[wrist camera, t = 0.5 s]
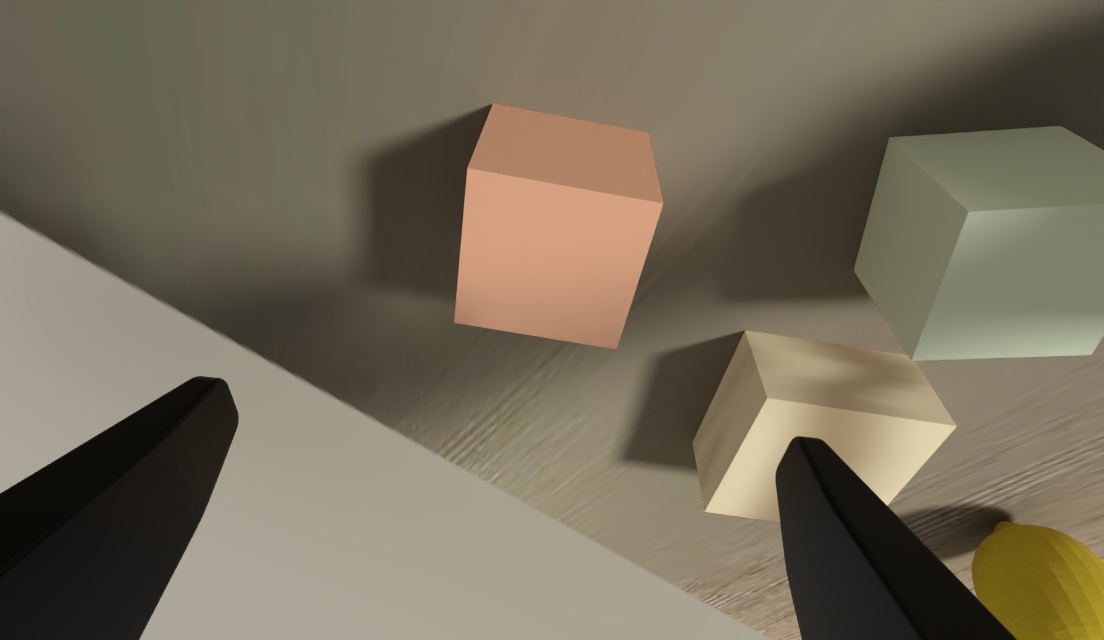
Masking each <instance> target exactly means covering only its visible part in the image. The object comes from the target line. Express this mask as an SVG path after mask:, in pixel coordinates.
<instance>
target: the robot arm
mask: <svg viewBox="0 0 1104 640" xmlns="http://www.w3.org/2000/svg"><path fill="white" fill-rule="evenodd" d="M237 426H238V411H237V409H236V406H235V404H234V400H233V398H232V395H231V392H230V390H229V387H228V384H227V383H226V382H225V381H224V380H223V379H220V378H213V377H203V376H198V377H194V378H192V379H190V380H188V381H186V382H185V383H183V384H182V385H180V386H178V387H177V388H175V389H173V390H172V391H170V392H168V393H167V394H165V395H163V396H162V397H160V398H158V399H157V400H155V401H153V402H152V403H150V404H148V405H147V406H145V407H143V408H142V409H140V410H139V411H137V412H135V413H133V414H132V415H130V416H128V417H127V418H125V419H123V420H122V421H120V422H118V423H117V424H115V425H114V426H112V427H110V428H108V429H107V430H105V431H103V432H102V433H100V434H98V435H97V436H95V437H93V438H92V439H90V440H89V441H87V442H85V443H83V444H82V445H80V446H79V447H77V448H75V449H73V450H72V451H70V452H68V453H67V454H65V455H64V456H62V457H60V458H59V459H57V460H55V461H54V462H52V463H51V464H49V465H47V466H46V467H44V468H42V469H40V470H39V471H37V472H35V473H34V474H32V475H30V476H29V477H27V478H25V479H24V480H22V481H20V482H19V483H17V484H16V485H14V486H12V487H10V488H9V489H7V490H5V491H4V492H2V493H0V640H139V639H140V637H141V635H142V633H143V631H144V629H145V627H146V625H147V624H148V622H149V620H150V618H151V616H152V614H153V612H154V610H155V608H156V606H157V604H158V602H159V600H160V598H161V597H162V595H163V593H164V591H165V589H166V587H167V585H168V583H169V581H170V579H171V577H172V575H173V573H174V571H175V569H176V568H177V565H178V564H179V562H180V560H181V558H182V556H183V554H184V552H185V550H186V548H187V546H188V544H189V542H190V540H191V538H192V537H193V534H194V533H195V531H196V529H197V527H198V524H199V522H200V521H201V518H202V516H203V514H204V512H205V509H206V507H207V505H208V502H209V500H210V497H211V495H212V492H213V489H214V487H215V484H216V482H217V479H218V476H219V474H220V471H221V469H222V466H223V463H224V461H225V458H226V456H227V453H228V450H229V448H230V445H231V443H232V440H233V437H234V435H235V432H236V429H237ZM775 482H776V491H777V499H778V507H779V516H780V524H781V532H782V541H783V549H784V558H785V564H786V571H787V576H788V581H789V586H790V590H791V595H792V599H793V603H794V607H795V612H796V616H797V620H798V624H799V629H800V633H801V637H802V640H1017V639H1016V638H1015V637H1014V636H1013V635H1012V634H1011V633H1010V632H1009V631H1008V629H1007V628H1006V627H1005V626H1004V625H1003V624H1002V623H1001V622H1000V621H999V620H998V619H997V618H996V617H995V616H994V615H993V614H992V613H991V612H990V611H989V610H988V609H987V608H986V607H985V606H984V605H983V604H982V603H981V602H980V601H979V600H978V599H977V598H976V597H975V596H974V595H973V593H972V592H971V591H970V590H969V589H968V588H967V587H966V586H965V585H964V584H963V583H962V582H961V581H960V580H959V579H958V578H957V577H956V576H955V575H954V574H953V573H952V572H951V571H950V570H949V569H948V568H947V567H946V566H945V565H944V564H943V563H942V562H941V561H940V560H939V558H938V557H937V556H936V555H935V554H934V553H933V552H932V551H931V550H930V549H929V548H928V547H927V546H926V545H925V544H924V543H923V542H922V541H921V540H920V539H919V538H918V537H917V536H916V535H915V534H914V533H913V532H912V531H911V530H910V529H909V528H908V527H907V526H906V525H905V524H904V522H903V521H902V520H901V519H900V518H899V517H898V516H897V515H896V514H895V513H894V512H893V511H892V510H891V509H890V508H889V507H888V506H887V505H886V504H885V503H884V502H883V501H882V500H881V499H880V498H879V497H878V496H877V495H876V494H875V493H874V492H873V491H872V490H871V489H870V487H869V486H868V485H867V484H866V483H865V482H864V481H863V480H862V479H861V478H860V477H859V476H858V475H857V474H856V473H855V472H854V471H853V470H852V469H851V468H850V467H849V466H848V465H847V464H846V463H845V462H844V461H843V460H842V459H841V458H840V457H839V456H838V455H837V454H836V453H835V451H834V450H833V449H832V448H831V447H830V446H829V445H828V444H827V443H826V442H824V441H823V440H822V439H819V438H813V437H803V436H796V437H794V438H793V439H792V440H791V442H790V443H789V445H788V447H787V449H786V451H785V453H784V455H783V457H782V459H781V461H780V463H779V465H778V467H777V470H776V475H775Z"/></svg>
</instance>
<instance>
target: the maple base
mask: <svg viewBox="0 0 1104 640" xmlns="http://www.w3.org/2000/svg"><path fill="white" fill-rule="evenodd" d="M956 427H957V426H956V424H955V423H954V421H953V419H952V418H951V416H950V415H949V413H948V412H947V410H946V409H945V407H944V406H943V404H942V402H941V401H940V399H939V398H938V396H937V395H936V393H935V392H934V390H933V389H932V387H931V385H930V384H929V382H928V381H927V379H926V378H925V376H924V375H923V373H922V372H921V370H920V368H919V367H918V365H917V364H916V362H915V361H911V359H910V358H909V356H908V355H901V354H895V353H888V352H882V351H876V350H869V349H863V348H856V347H850V346H843V345H837V344H830V343H824V342H817V341H811V340H804V339H798V338H792V337H785V336H779V335H772V334H766V333H759V332H753V331H746V330H745V332H744V334H743V336H742V338H741V340H740V342H739V344H738V347H737V349H736V351H735V353H734V355H733V357H732V359H731V361H730V364H729V366H728V368H727V370H726V372H725V374H724V376H723V378H722V381H721V383H720V385H719V387H718V389H717V391H716V393H715V396H714V398H713V400H712V402H711V404H710V406H709V408H708V410H707V413H706V415H705V417H704V419H703V421H702V423H701V425H700V427H699V430H698V432H697V434H696V436H695V438H694V440H693V448H694V454H695V459H696V465H697V471H698V477H699V482H700V488H701V494H702V499H703V505H704V511H705V512H711V513H718V514H725V515H733V516H740V517H747V518H755V519H762V520H769V521H776V522H780V516H779V507H778V499H777V491H776V482H775V475H776V470H777V467H778V465H779V463H780V461H781V459H782V457H783V455H784V453H785V451H786V449H787V447H788V445H789V443H790V442H791V440H792V439H793V438H794V437H796V436H803V437H813V438H819V439H822V440H823V441H824V442H826V443H827V444H828V445H829V446H830V447H831V448H832V449H833V450H834V451H835V453H836V454H837V455H838V456H839V457H840V458H841V459H842V460H843V461H844V462H845V463H846V464H847V465H848V466H849V467H850V468H851V469H852V470H853V471H854V472H855V473H856V474H857V475H858V476H859V477H860V478H861V479H862V480H863V481H864V482H865V483H866V484H867V485H868V486H869V487H870V489H871V490H872V491H873V492H874V493H875V494H876V495H877V496H878V497H879V498H880V499H881V500H882V501H883V502H884V503H885V504H886V505H888V504H889V503H890V502H891V501H892V499H893V498H894V497H895V496H896V495H897V494H898V493H899V491H900V490H901V489H902V488H903V487H904V486H905V485H906V484H907V482H908V481H909V480H910V479H911V478H912V477H913V476H914V474H915V473H916V472H917V471H918V470H919V469H920V468H921V467H922V465H923V464H924V463H925V462H926V461H927V460H928V459H929V457H930V456H931V455H932V454H933V453H934V452H935V451H936V449H937V448H938V447H939V446H940V445H941V444H942V443H943V442H944V440H945V439H946V438H947V437H948V436H949V435H950V434H951V432H952V431H953V430H954V429H955V428H956Z"/></svg>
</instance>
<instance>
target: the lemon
mask: <svg viewBox="0 0 1104 640" xmlns="http://www.w3.org/2000/svg"><path fill="white" fill-rule="evenodd" d="M972 579H973V583H974V588H975V592H976V595H977V598H978V600H979V601H980V602H981V603H982V604H983V605H984V606H985V607H986V608H987V609H988V610H989V611H990V612H991V613H992V614H993V615H994V616H995V617H996V618H997V619H998V620H999V621H1000V622H1001V623H1002V624H1003V625H1004V626H1005V627H1006V628H1007V629H1008V631H1009V632H1010V633H1011V634H1012V635H1013V636H1014V637H1015V638H1016V639H1017V640H1104V562H1103V561H1102V560H1101V559H1100V558H1099V557H1097V556H1096V555H1095V554H1094V553H1093V552H1092V551H1090V550H1089V549H1088V548H1087V547H1086V546H1084V545H1083V544H1082V543H1080V542H1079V541H1077V540H1076V539H1074V538H1072V537H1070V536H1068V535H1066V534H1063V533H1061V532H1059V531H1056V530H1054V529H1050V528H1047V527H1042V526H1036V525H1018V524H1015V523H1012V522H1009V521H1002V522H1000V523H998V524H997V525H996V527H995V529H994V532H993V533H992V534H990V535H989V536H988V537H986V538H985V539H984V540H983V541H982V543H981V544H980V545H979V546H978V548H977V550H976V552H975V555H974V559H973V562H972Z"/></svg>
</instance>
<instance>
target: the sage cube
mask: <svg viewBox="0 0 1104 640" xmlns="http://www.w3.org/2000/svg"><path fill="white" fill-rule="evenodd" d="M854 272H855V273H856V275H857V277H858V278H859V280H860V281H861V283H862V284H863V286H864V287H865V289H866V291H867V292H868V294H869V295H870V297H871V298H872V300H873V302H874V303H875V305H876V306H877V308H878V309H879V311H880V313H881V314H882V316H883V317H884V319H885V320H886V322H887V323H888V325H889V327H890V328H891V330H892V331H893V333H894V334H895V336H896V338H897V339H898V341H899V342H900V344H901V345H902V347H903V349H904V350H905V352H906V353H907V355H908V356H909V358H910V359H911V361H919V360H950V359H980V358H1011V357H1042V356H1073V355H1092V353H1093V351H1094V350H1095V348H1096V347H1097V345H1098V343H1099V342H1100V340H1101V339H1102V337H1103V336H1104V150H1102V149H1101V148H1099V147H1097V146H1095V145H1093V144H1092V143H1090V142H1088V141H1086V140H1085V139H1083V138H1081V137H1079V136H1078V135H1076V134H1074V133H1072V132H1071V131H1069V130H1067V129H1065V128H1064V127H1062V126H1051V127H1036V128H1021V129H1006V130H992V131H977V132H962V133H948V134H933V135H918V136H904V137H889V140H888V144H887V148H886V152H885V155H884V159H883V163H882V166H881V170H880V174H879V178H878V181H877V185H876V189H875V192H874V196H873V200H872V204H871V207H870V211H869V215H868V219H867V222H866V226H865V230H864V233H863V237H862V241H861V245H860V248H859V252H858V256H857V260H856V263H855V267H854Z"/></svg>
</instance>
